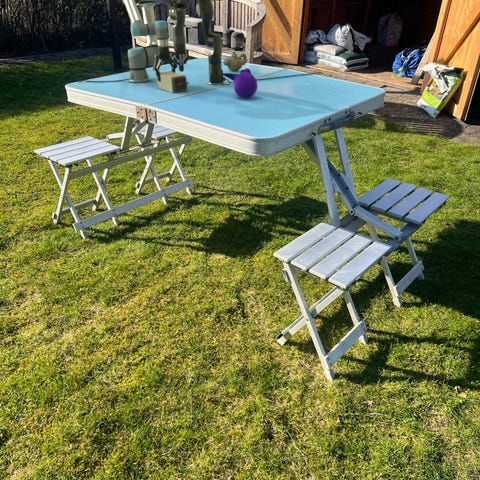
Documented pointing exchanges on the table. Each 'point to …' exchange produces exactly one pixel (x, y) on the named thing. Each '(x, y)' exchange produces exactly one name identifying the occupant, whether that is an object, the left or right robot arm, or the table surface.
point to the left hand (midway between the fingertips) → (166, 79)
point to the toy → (243, 83)
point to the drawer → (180, 84)
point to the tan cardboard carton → (168, 80)
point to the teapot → (235, 62)
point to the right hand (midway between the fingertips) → (181, 71)
